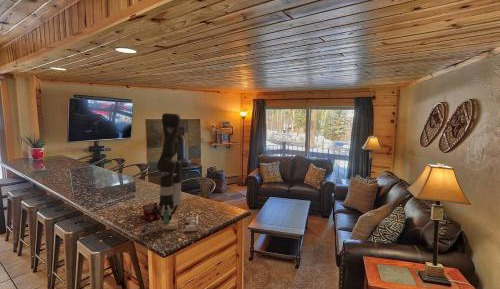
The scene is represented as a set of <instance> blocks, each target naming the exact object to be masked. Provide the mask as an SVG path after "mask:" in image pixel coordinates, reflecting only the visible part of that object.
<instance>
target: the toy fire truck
mask: <svg viewBox="0 0 500 289" xmlns="http://www.w3.org/2000/svg"><path fill="white" fill-rule="evenodd" d="M156 204H158V202H157V201H156V202H154V203H148V204H144V205H143V206H142V210H143V216H142V217H143V219H145V220H147V221H149V223H150V222H154V220H160V219H161V215H158V213H157V211H156V209H155V205H156ZM159 209H160V212H162V208H161V207H160V206H159Z"/></svg>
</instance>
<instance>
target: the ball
mask: <svg viewBox="0 0 500 289" xmlns="http://www.w3.org/2000/svg"><path fill="white" fill-rule="evenodd" d="M188 224H189V226H190V225H196V221H195V220H191V221H190V223H188Z"/></svg>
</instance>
